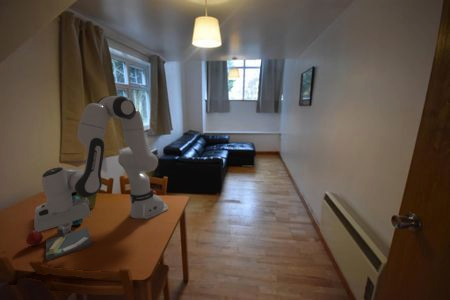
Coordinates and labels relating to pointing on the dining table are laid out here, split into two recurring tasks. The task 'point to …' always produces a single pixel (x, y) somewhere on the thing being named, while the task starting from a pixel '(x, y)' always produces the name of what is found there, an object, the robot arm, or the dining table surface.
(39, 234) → the onion
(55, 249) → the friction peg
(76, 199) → the beverage bottle
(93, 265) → the dining table surface
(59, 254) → the dial board
